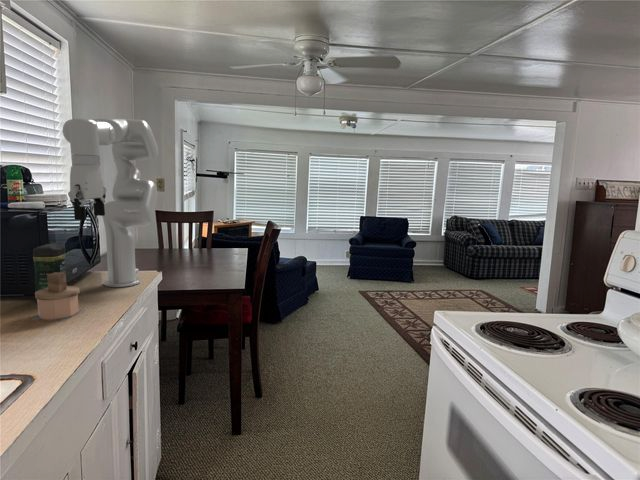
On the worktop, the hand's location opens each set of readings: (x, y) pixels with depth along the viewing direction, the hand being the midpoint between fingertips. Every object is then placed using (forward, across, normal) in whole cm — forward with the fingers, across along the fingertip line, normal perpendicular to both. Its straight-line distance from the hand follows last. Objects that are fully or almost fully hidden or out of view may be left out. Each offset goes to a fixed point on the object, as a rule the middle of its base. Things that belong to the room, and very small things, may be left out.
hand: (90, 217), depth 124 cm
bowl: (+27, +13, -4) cm, 30 cm away
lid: (+21, +12, -4) cm, 25 cm away
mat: (+27, +13, -4) cm, 30 cm away
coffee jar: (+28, -2, -16) cm, 33 cm away
